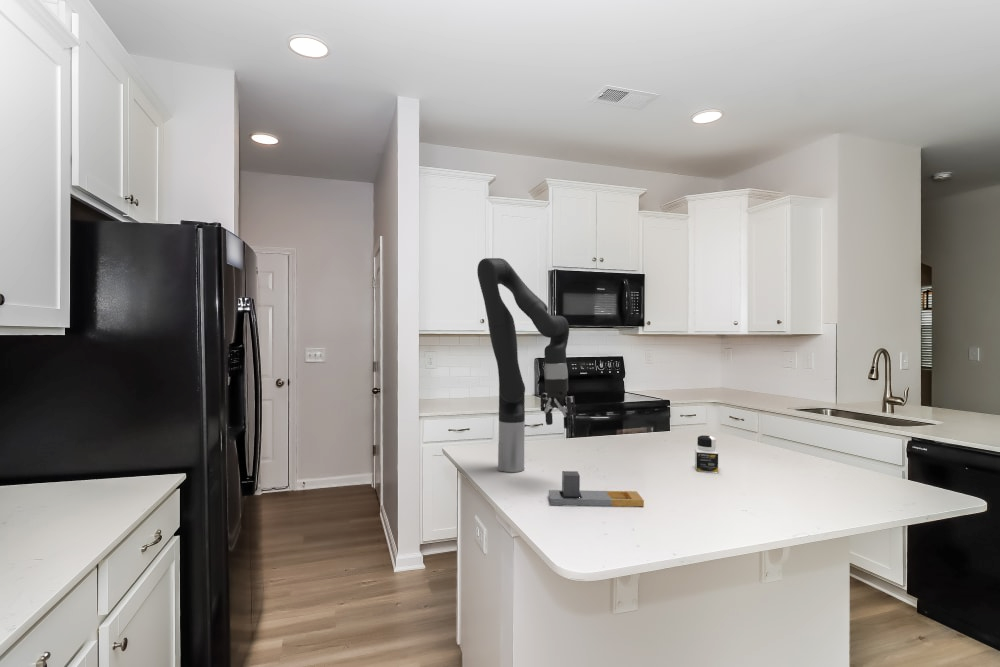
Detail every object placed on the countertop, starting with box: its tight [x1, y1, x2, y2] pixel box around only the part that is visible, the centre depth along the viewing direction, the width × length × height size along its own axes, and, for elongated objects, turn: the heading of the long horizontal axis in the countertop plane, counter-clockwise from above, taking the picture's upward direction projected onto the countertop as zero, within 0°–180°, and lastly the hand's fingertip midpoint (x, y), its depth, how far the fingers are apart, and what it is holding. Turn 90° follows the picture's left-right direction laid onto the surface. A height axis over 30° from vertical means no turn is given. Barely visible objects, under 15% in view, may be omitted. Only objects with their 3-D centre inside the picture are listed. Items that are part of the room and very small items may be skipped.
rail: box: [548, 489, 645, 507], centre depth 145 cm, size 26×8×2 cm, turn 89°
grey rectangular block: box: [561, 470, 581, 498], centre depth 145 cm, size 4×4×8 cm
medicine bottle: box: [694, 434, 719, 474], centre depth 180 cm, size 7×7×12 cm
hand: (558, 426), depth 164 cm, fingers open, 8 cm apart
